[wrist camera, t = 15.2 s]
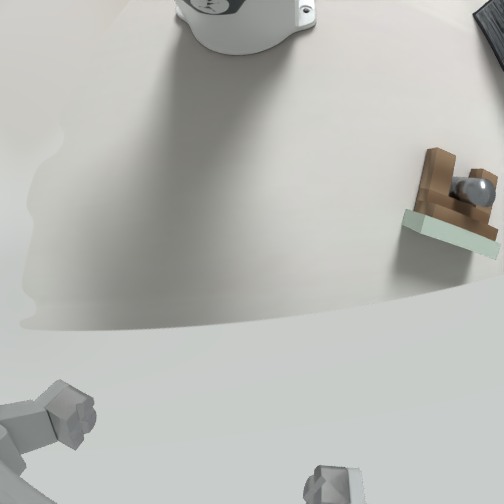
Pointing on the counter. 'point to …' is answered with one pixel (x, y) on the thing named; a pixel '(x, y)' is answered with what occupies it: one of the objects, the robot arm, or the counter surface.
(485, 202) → the dowel
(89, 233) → the counter surface
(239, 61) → the counter surface
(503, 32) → the small box
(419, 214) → the wall
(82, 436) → the robot arm
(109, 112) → the counter surface
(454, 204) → the block
